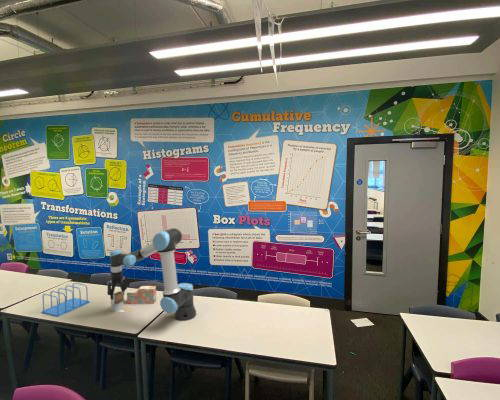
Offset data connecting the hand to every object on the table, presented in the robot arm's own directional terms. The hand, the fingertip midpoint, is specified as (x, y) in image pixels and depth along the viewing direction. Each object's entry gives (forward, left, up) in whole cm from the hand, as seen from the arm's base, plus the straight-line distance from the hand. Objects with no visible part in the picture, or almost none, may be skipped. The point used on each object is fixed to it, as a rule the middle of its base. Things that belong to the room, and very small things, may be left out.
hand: (117, 301), depth 199 cm
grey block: (+5, -2, -8) cm, 10 cm away
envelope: (+2, -1, -9) cm, 9 cm away
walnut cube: (0, 0, 0) cm, 0 cm away
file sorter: (+40, +19, -9) cm, 45 cm away
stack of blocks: (+1, -20, -9) cm, 22 cm away
